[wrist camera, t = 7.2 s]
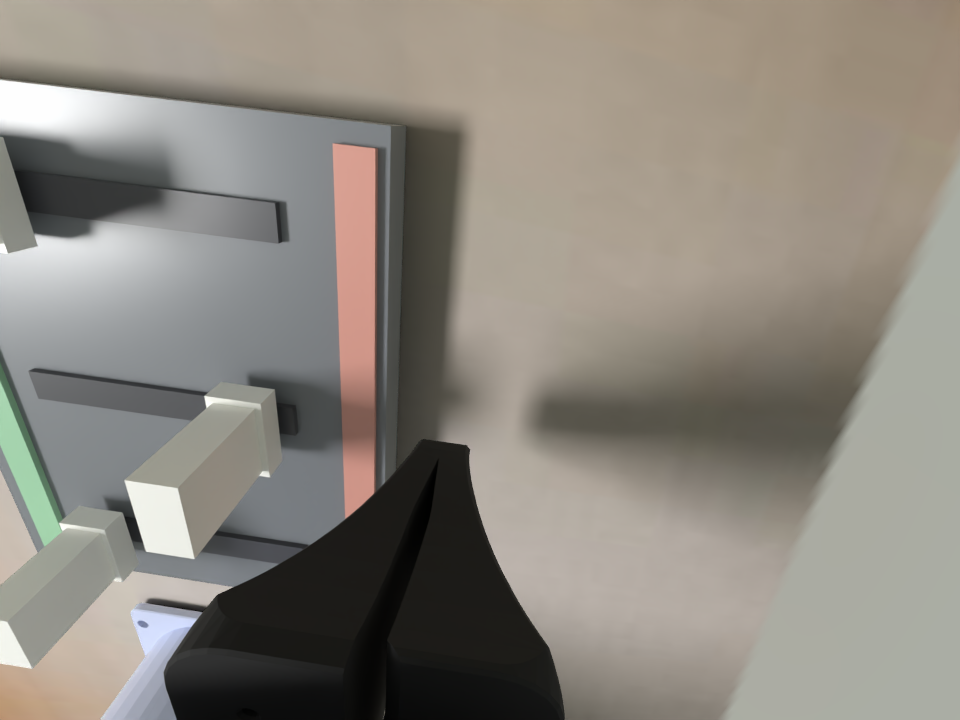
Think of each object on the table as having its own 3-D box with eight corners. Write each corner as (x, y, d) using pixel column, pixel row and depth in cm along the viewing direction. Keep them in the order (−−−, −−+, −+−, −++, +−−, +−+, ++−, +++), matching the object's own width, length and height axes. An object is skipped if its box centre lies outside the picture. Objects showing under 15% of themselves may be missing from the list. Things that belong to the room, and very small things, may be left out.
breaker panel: (392, 577, 20) (381, 615, 18) (71, 527, 20) (34, 560, 19) (406, 125, 12) (388, 126, 11) (-110, 65, 13) (-197, 57, 11)
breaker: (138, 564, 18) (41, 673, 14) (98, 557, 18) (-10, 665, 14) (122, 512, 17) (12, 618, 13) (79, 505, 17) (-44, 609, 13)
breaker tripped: (282, 460, 15) (204, 566, 11) (232, 453, 15) (140, 556, 11) (275, 389, 14) (184, 482, 10) (221, 382, 14) (113, 471, 10)
